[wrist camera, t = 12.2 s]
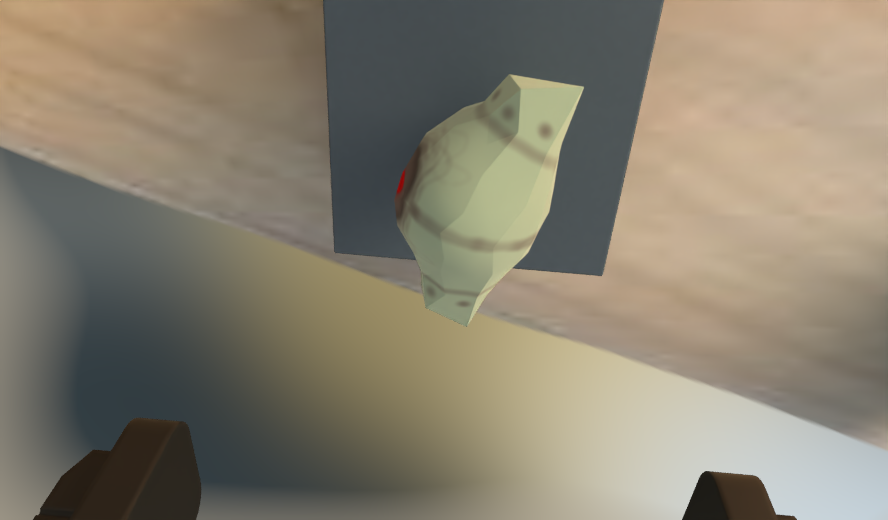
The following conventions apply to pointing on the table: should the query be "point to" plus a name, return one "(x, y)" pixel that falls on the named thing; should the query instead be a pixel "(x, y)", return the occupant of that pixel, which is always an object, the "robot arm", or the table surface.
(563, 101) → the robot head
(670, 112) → the table surface
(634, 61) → the square block
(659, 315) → the table surface
